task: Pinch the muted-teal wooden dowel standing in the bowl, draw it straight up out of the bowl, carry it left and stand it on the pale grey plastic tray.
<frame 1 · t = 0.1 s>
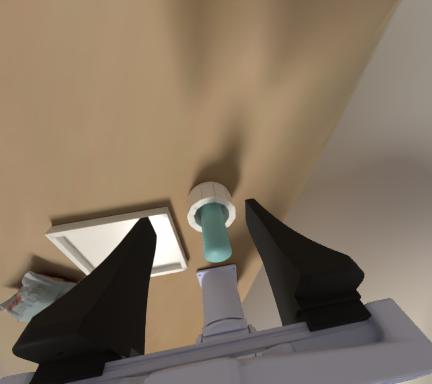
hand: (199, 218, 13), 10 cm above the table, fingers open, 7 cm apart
packaged food: (50, 282, 31), on the table
dowel: (209, 201, 24), point 1 cm above the table, touching bowl
tray: (130, 247, 28), on the table
bowl: (209, 199, 24), on the table
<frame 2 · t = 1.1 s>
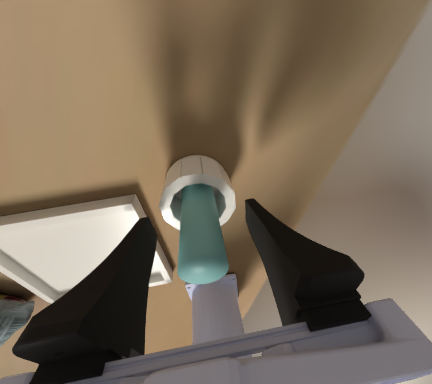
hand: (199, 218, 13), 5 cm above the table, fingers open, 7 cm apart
dowel: (197, 186, 16), point 1 cm above the table, touching bowl
tray: (90, 252, 20), on the table
bowl: (197, 183, 17), on the table
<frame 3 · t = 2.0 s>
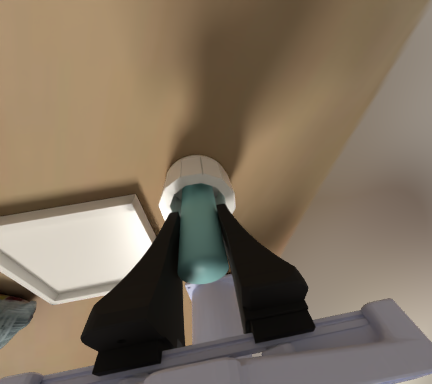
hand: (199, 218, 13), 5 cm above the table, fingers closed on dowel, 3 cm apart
dowel: (197, 186, 16), point 1 cm above the table, touching bowl, gripper
tray: (90, 252, 20), on the table
bowl: (197, 183, 17), on the table
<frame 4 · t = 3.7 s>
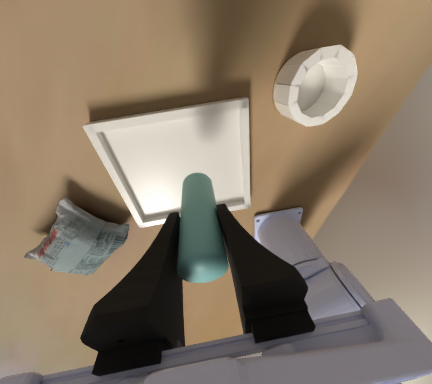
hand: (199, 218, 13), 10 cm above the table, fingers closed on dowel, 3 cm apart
packaged food: (86, 228, 25), on the table
dowel: (197, 185, 16), point 6 cm above the table, touching gripper
tray: (184, 169, 22), on the table
bowl: (300, 87, 18), on the table
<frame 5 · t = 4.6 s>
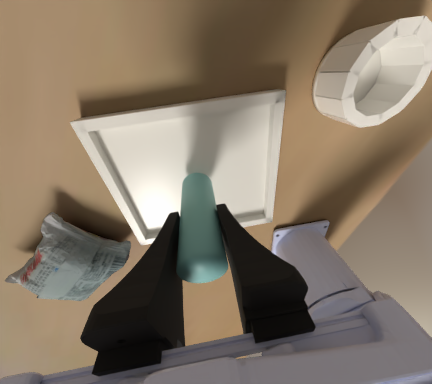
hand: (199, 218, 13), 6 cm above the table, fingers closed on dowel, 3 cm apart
packaged food: (80, 244, 22), on the table
dowel: (197, 185, 16), point 2 cm above the table, touching gripper
tray: (196, 177, 18), on the table
bowl: (346, 78, 14), on the table
when the fingers open (6 cm above the table, at t = 5.4 s): dowel stays where it is, resting on tray.
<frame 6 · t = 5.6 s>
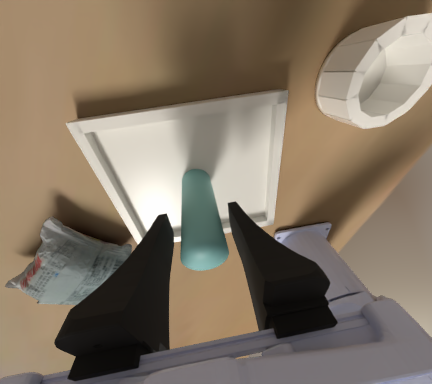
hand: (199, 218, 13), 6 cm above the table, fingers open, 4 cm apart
packaged food: (81, 248, 21), on the table
dowel: (196, 181, 17), point 1 cm above the table, touching tray
tray: (196, 179, 17), on the table
bowl: (350, 78, 14), on the table
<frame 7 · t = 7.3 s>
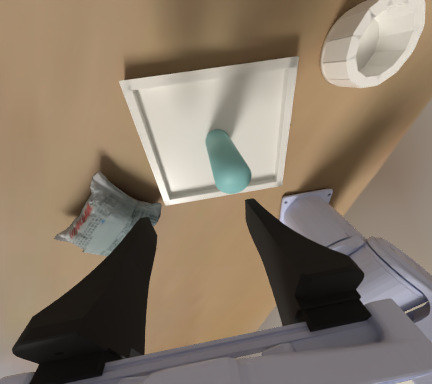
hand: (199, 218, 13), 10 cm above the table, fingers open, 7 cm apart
packaged food: (115, 209, 24), on the table
dowel: (217, 141, 20), point 1 cm above the table, touching tray
tray: (217, 141, 20), on the table
bowl: (349, 49, 17), on the table
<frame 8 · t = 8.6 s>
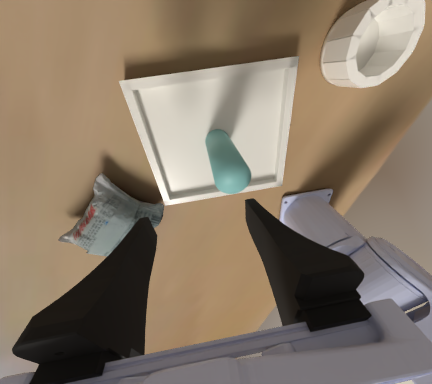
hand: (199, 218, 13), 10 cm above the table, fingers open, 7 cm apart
packaged food: (118, 210, 25), on the table
dowel: (217, 141, 20), point 1 cm above the table, touching tray
tray: (217, 141, 20), on the table
bowl: (349, 49, 17), on the table
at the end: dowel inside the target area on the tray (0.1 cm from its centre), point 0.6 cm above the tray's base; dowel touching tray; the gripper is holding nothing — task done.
